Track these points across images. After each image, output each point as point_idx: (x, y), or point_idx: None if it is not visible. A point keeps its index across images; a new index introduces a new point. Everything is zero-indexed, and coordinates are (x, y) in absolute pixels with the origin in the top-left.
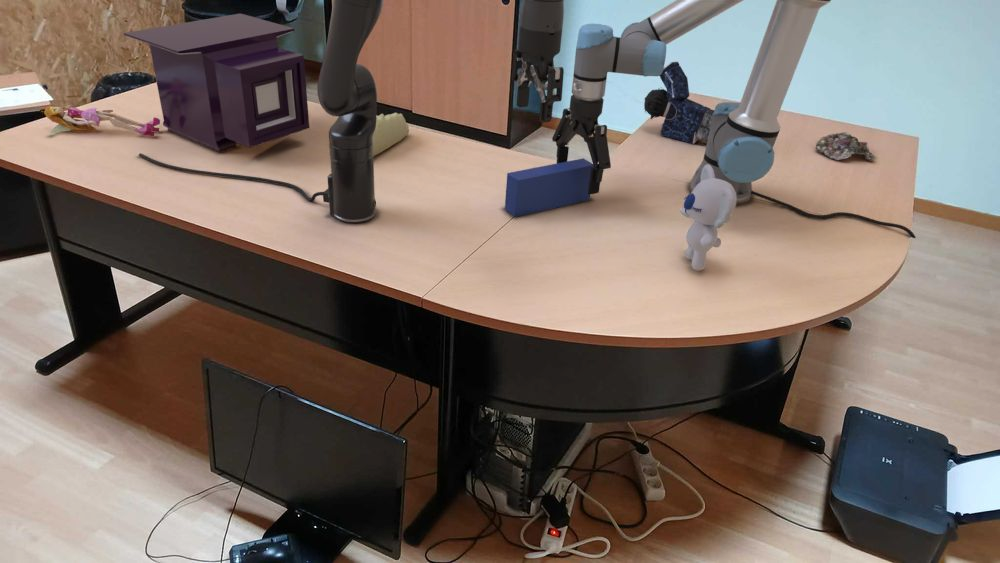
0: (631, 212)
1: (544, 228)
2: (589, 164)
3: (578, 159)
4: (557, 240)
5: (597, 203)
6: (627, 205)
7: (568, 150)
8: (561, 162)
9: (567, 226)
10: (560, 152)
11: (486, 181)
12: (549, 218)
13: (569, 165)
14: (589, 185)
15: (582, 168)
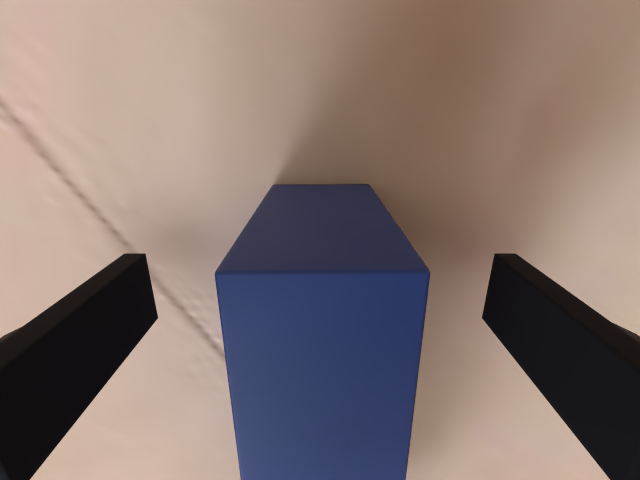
0: (610, 59)
1: (470, 467)
2: (392, 316)
3: (228, 338)
4: (557, 473)
5: (419, 170)
6: (536, 13)
7: (11, 361)
8: (111, 343)
9: (507, 404)
10: (48, 439)
11: (49, 457)
12: (421, 422)
13: (323, 470)
14: (516, 353)
15: (412, 398)
